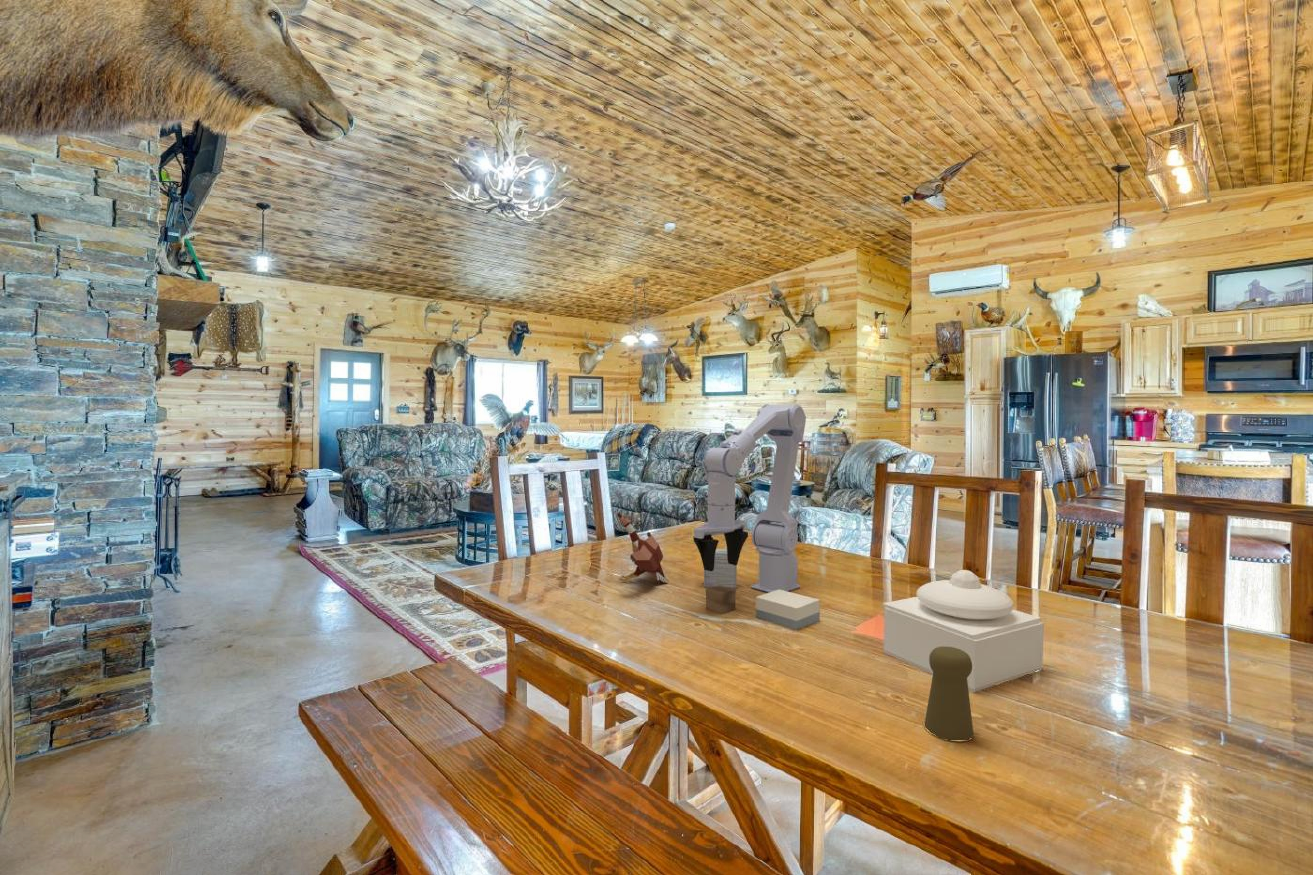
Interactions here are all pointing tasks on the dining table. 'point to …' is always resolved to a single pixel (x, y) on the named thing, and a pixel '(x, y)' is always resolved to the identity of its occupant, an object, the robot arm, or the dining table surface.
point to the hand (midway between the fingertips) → (720, 567)
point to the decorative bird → (644, 554)
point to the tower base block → (786, 621)
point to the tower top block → (787, 604)
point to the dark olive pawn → (949, 694)
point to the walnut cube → (720, 599)
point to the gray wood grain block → (721, 572)
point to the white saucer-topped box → (965, 629)
